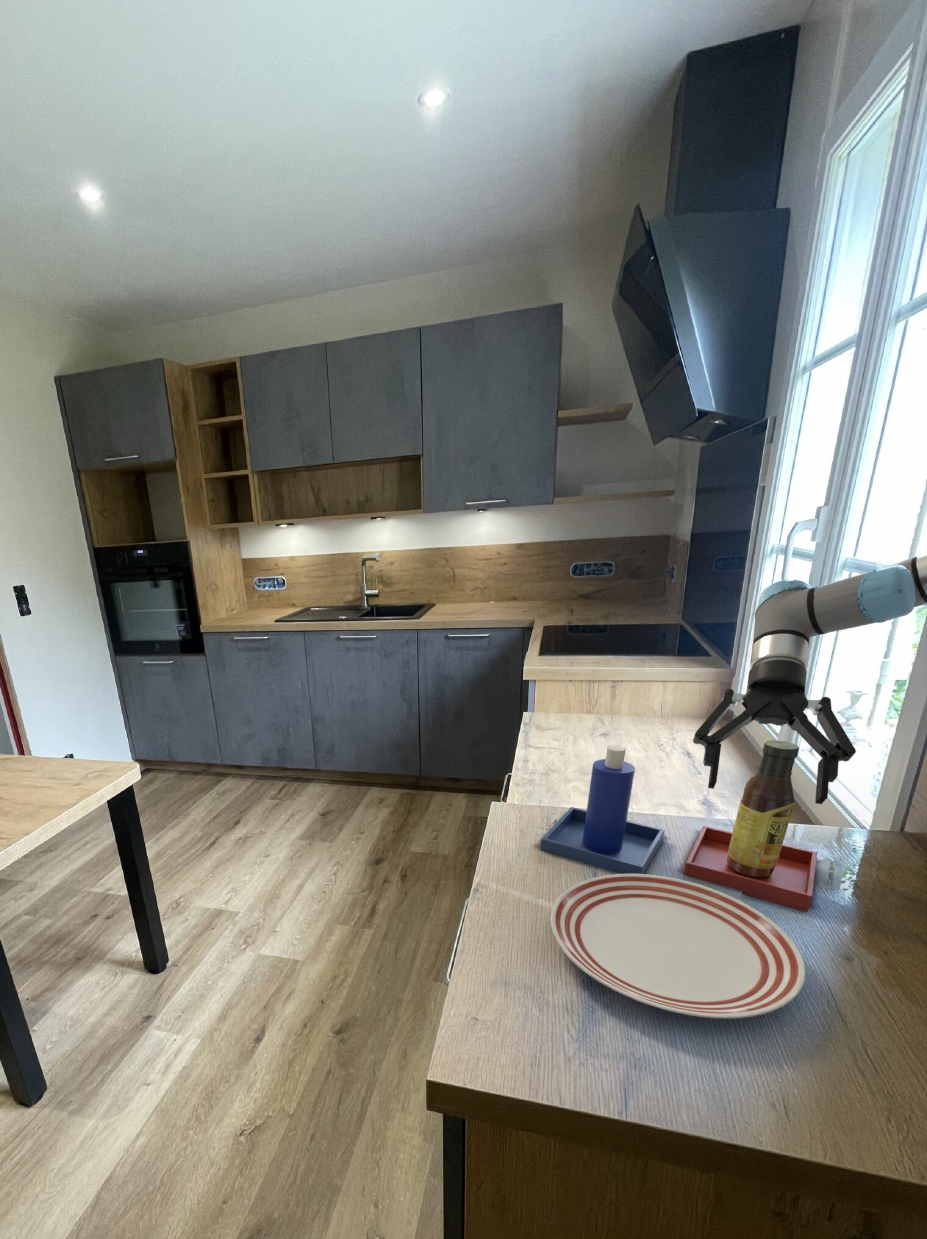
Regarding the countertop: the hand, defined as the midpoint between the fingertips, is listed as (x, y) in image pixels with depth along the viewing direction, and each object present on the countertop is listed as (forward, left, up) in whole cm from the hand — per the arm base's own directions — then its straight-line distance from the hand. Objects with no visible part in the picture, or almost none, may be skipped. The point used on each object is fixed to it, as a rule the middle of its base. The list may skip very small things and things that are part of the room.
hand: (764, 792), depth 90 cm
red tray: (0, +3, -12) cm, 12 cm away
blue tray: (+19, +8, -12) cm, 24 cm away
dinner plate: (+5, +30, -12) cm, 33 cm away
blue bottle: (+19, +8, -11) cm, 24 cm away
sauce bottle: (-1, +3, -11) cm, 12 cm away
